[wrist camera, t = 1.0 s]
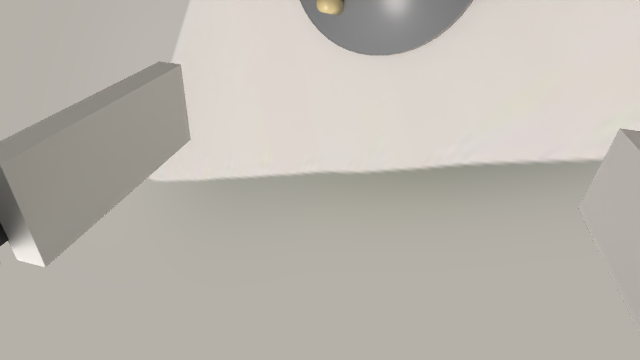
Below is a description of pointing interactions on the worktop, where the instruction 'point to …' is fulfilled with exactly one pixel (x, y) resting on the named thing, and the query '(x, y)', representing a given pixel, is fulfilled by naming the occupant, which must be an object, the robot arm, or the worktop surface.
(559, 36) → the worktop surface
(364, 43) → the pin dock
